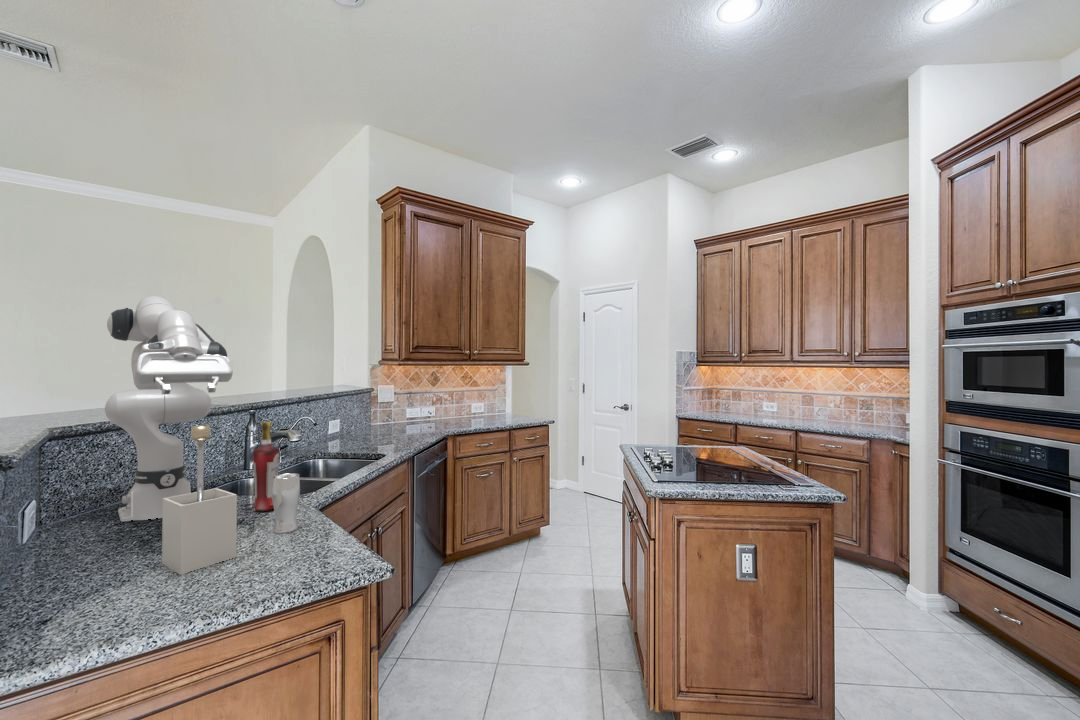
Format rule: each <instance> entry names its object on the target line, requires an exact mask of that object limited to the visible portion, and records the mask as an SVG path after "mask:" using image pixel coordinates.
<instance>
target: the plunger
mask: <svg viewBox="0 0 1080 720" xmlns="http://www.w3.org/2000/svg"><path fill="white" fill-rule="evenodd" d="M190 435H191V436H190V440H191V441H197V447H196V448H197V449H196V450H197V451H196V452H197V457H196V460H197V461H196V463H197V464H196V465H197V467H196V468H197V470H196V471H197V472H196V475H197V476H196V485H197V486H196V492H197V502H201V501H205V500H203V491H204V481H205V480H204V479H205V478H204V470H205V467H204V464H205V463H204V459H205V455H204V454H205V448H204V447H205V443H204V442H205V440H210V439H211V425H194V426H191V427H190ZM212 499H214V498H212ZM207 500H210V499H207ZM193 503H196V502H193ZM188 504H191V503H188ZM183 505H186V504H183Z"/></svg>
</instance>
